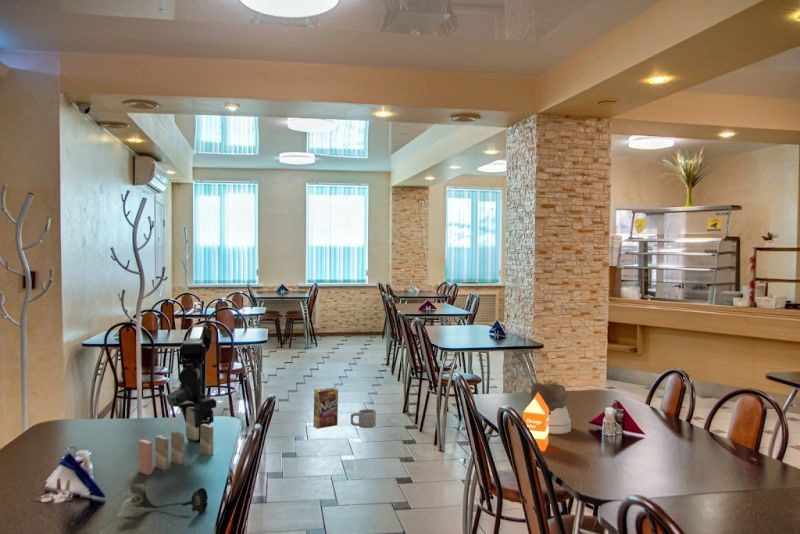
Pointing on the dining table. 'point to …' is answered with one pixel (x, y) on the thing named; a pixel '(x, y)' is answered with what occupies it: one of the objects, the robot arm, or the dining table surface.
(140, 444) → the domino
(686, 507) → the dining table surface
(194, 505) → the artificial flower
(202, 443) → the domino
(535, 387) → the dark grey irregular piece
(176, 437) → the domino
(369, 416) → the mug
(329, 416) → the candy box
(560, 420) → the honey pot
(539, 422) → the orange juice
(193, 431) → the domino
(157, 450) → the domino
